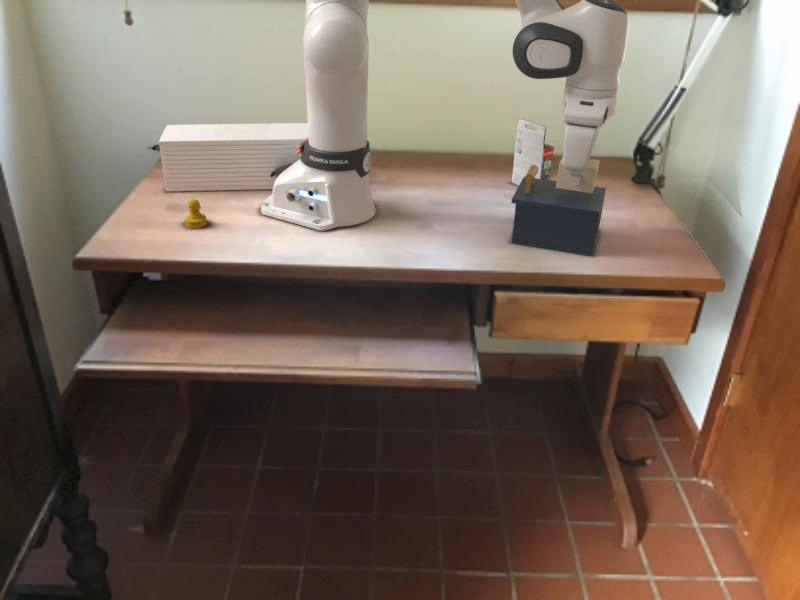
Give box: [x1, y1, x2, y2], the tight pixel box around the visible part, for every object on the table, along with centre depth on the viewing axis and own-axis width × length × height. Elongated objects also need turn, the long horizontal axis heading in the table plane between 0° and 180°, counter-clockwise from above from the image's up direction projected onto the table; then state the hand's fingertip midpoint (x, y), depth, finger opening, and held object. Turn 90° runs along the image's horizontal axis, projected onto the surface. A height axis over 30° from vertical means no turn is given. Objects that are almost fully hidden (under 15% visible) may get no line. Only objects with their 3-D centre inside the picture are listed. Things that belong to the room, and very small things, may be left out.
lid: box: [511, 165, 607, 216], centre depth 136 cm, size 15×12×5 cm
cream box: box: [556, 156, 601, 193], centre depth 134 cm, size 6×5×5 cm
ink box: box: [511, 117, 555, 187], centre depth 158 cm, size 4×8×15 cm, turn 39°
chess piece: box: [184, 198, 208, 229], centre depth 141 cm, size 4×4×5 cm
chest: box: [511, 194, 606, 257], centre depth 139 cm, size 15×12×8 cm
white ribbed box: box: [158, 122, 308, 192], centre depth 159 cm, size 32×11×11 cm, turn 96°
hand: (576, 178), depth 134 cm, fingers closed on cream box, 5 cm apart
